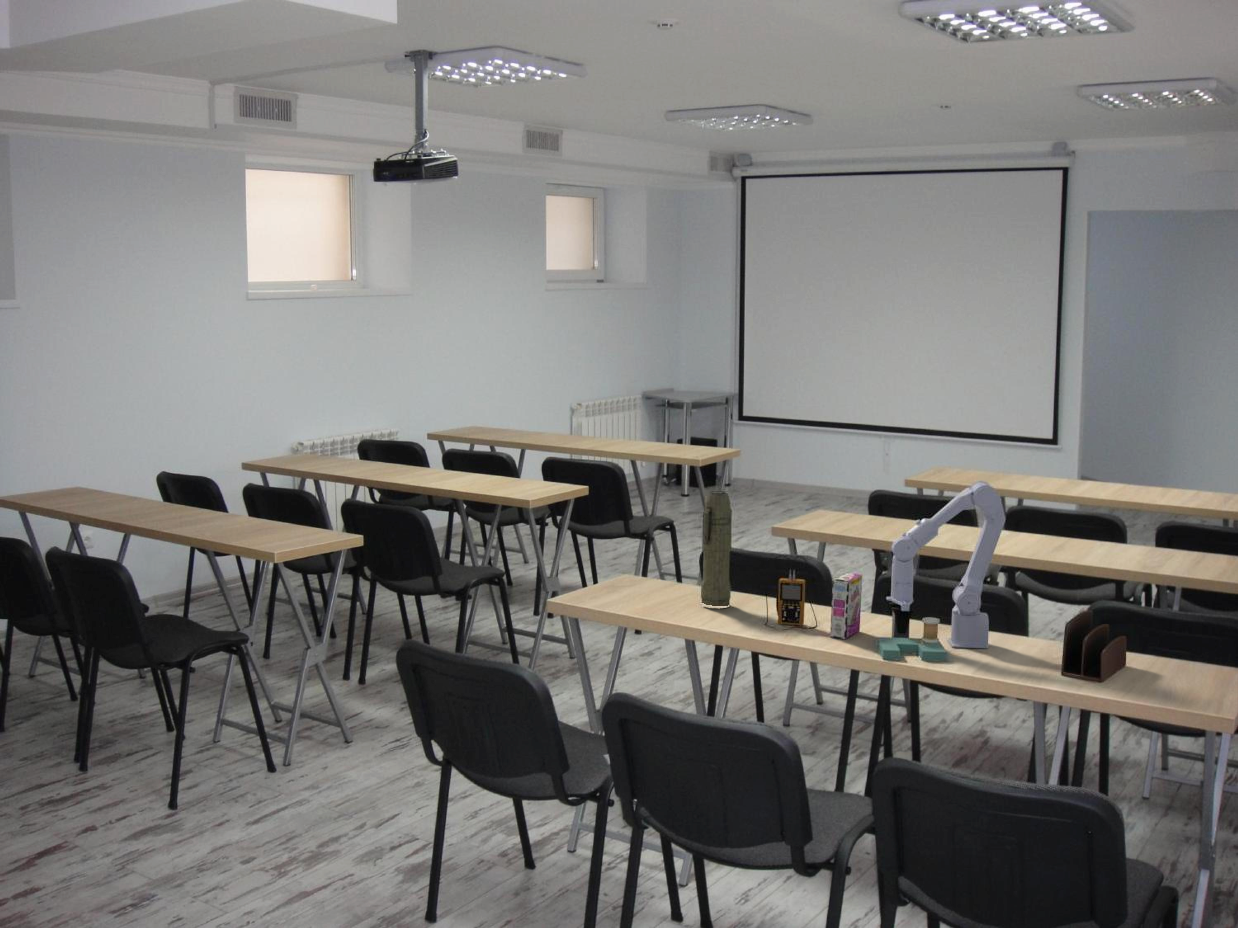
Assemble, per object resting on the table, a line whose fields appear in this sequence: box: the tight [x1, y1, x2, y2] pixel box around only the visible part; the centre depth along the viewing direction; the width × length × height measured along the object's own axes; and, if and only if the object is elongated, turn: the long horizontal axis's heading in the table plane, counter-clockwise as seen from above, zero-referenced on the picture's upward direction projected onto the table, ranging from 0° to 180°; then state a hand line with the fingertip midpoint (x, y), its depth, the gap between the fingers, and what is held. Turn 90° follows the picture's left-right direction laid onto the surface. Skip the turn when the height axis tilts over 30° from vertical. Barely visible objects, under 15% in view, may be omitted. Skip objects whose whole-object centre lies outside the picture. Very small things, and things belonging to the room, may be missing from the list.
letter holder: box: [1060, 610, 1128, 684], centre depth 303 cm, size 10×20×14 cm, turn 141°
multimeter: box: [764, 555, 818, 631], centre depth 342 cm, size 15×10×20 cm
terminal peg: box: [891, 612, 911, 638], centre depth 329 cm, size 4×4×8 cm
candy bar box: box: [829, 572, 863, 640], centre depth 336 cm, size 11×5×16 cm, turn 149°
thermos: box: [700, 490, 733, 606], centre depth 367 cm, size 9×12×35 cm
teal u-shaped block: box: [876, 616, 948, 662], centre depth 317 cm, size 16×13×8 cm
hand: (900, 630), depth 329 cm, fingers closed on terminal peg, 4 cm apart
